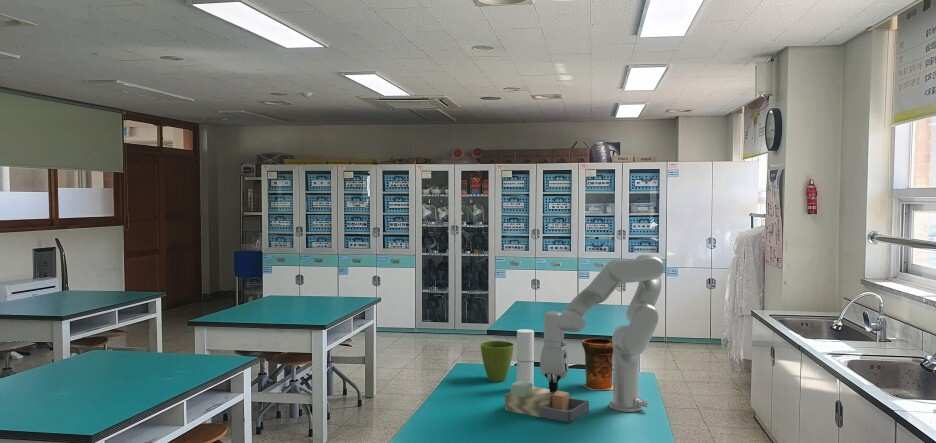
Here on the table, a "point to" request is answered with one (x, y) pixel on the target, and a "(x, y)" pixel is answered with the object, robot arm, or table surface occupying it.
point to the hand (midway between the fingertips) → (553, 391)
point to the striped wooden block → (529, 402)
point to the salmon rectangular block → (560, 400)
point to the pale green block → (521, 388)
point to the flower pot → (497, 359)
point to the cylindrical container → (525, 355)
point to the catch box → (566, 411)
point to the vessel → (598, 363)
